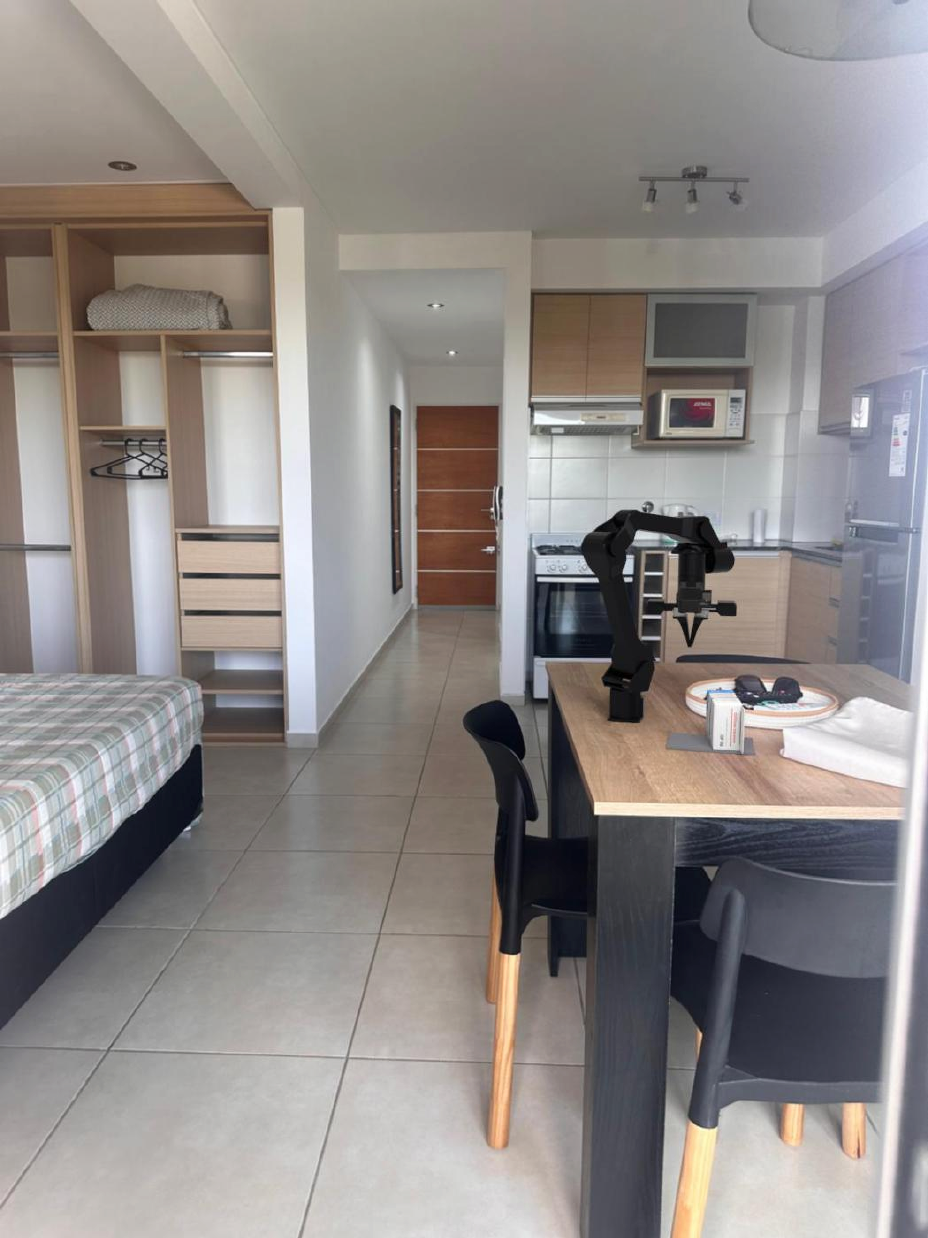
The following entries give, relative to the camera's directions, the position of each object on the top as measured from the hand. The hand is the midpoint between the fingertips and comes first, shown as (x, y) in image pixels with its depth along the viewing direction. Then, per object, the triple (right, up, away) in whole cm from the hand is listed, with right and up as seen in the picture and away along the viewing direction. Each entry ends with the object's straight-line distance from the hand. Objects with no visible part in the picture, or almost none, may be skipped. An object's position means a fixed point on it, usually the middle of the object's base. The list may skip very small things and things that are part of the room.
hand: (689, 647), depth 179 cm
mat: (-4, -17, -27) cm, 32 cm away
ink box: (0, -11, -21) cm, 24 cm away
